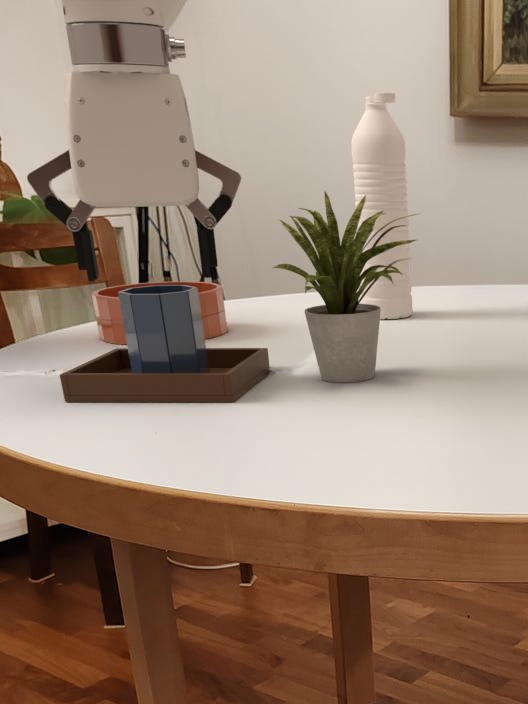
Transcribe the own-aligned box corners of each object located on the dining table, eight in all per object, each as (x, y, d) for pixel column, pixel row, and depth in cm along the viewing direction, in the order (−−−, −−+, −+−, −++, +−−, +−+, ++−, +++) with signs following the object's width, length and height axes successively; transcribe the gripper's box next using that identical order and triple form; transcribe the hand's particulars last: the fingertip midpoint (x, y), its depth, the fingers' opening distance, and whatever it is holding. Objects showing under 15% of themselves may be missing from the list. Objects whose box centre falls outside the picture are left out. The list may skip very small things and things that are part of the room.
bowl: (80, 350, 109) (70, 298, 106) (130, 328, 121) (122, 281, 119) (205, 350, 108) (198, 297, 105) (243, 328, 120) (237, 280, 118)
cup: (125, 387, 89) (108, 294, 85) (151, 373, 94) (137, 285, 91) (194, 387, 88) (180, 294, 84) (216, 373, 94) (204, 284, 90)
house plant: (394, 400, 85) (383, 193, 78) (248, 393, 88) (223, 194, 81) (439, 366, 97) (433, 185, 90) (310, 362, 101) (293, 187, 93)
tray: (64, 402, 87) (59, 374, 85) (120, 373, 97) (116, 348, 96) (233, 402, 85) (229, 374, 84) (270, 372, 96) (267, 347, 95)
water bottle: (357, 314, 129) (342, 96, 117) (405, 310, 130) (395, 96, 119) (373, 324, 121) (358, 92, 110) (423, 320, 123) (414, 92, 112)
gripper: (226, 59, 85) (247, 269, 93) (10, 54, 80) (51, 275, 88) (231, 53, 78) (253, 280, 86) (-4, 47, 74) (42, 286, 82)
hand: (151, 277), depth 87 cm, fingers open, 9 cm apart
